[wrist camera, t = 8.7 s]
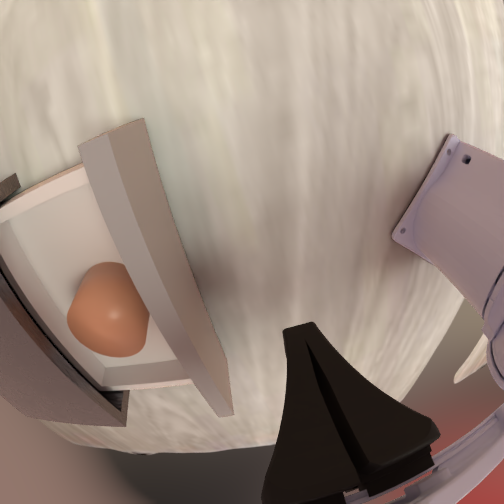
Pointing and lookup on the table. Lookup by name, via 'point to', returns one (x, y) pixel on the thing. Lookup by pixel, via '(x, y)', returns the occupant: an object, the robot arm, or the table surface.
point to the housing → (47, 368)
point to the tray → (114, 250)
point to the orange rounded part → (109, 312)
